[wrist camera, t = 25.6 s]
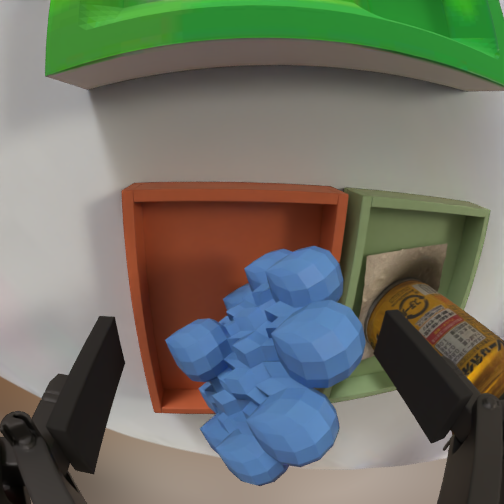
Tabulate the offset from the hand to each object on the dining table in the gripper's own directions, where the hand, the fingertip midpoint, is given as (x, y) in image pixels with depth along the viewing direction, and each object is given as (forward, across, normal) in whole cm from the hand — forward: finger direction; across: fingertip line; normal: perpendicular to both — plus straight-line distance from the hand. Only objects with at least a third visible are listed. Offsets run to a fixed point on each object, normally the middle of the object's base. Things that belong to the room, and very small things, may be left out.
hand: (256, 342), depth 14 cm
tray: (+6, -2, -26) cm, 26 cm away
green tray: (+6, -11, +1) cm, 13 cm away
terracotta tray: (+6, +1, +1) cm, 6 cm away
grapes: (+5, +1, 0) cm, 5 cm away
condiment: (+5, -11, +1) cm, 12 cm away
